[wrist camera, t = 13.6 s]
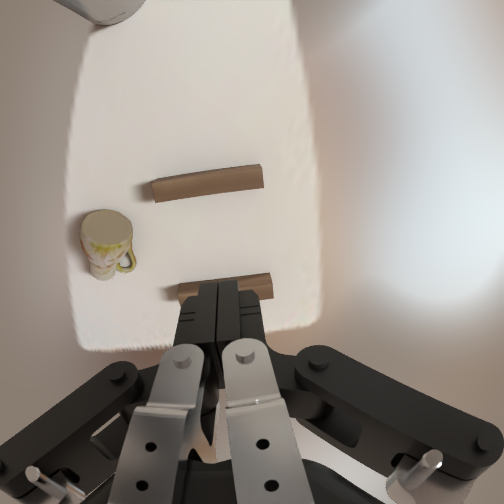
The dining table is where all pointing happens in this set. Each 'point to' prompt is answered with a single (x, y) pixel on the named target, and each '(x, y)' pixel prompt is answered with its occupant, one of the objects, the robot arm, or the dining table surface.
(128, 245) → the mug
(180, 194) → the wooden guide rails
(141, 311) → the dining table surface
